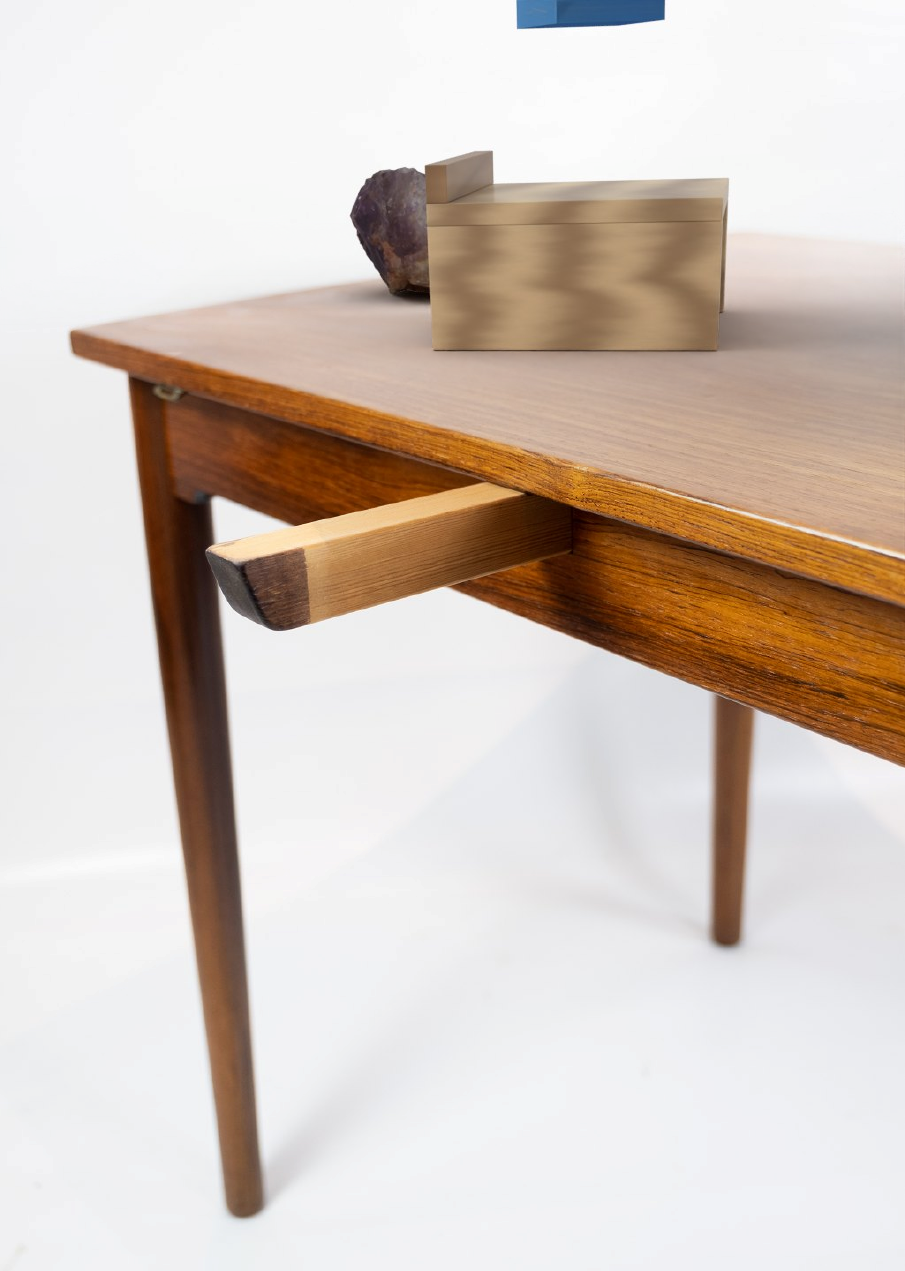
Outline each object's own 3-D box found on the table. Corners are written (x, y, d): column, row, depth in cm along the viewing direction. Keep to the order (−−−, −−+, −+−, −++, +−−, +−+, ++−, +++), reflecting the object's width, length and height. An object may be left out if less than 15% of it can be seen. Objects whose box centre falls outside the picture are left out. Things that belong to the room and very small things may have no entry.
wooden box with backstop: (723, 309, 85) (730, 143, 82) (717, 350, 73) (724, 156, 69) (479, 310, 89) (474, 151, 85) (432, 350, 76) (424, 165, 72)
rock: (491, 298, 102) (361, 297, 103) (493, 180, 100) (360, 181, 101) (480, 296, 91) (334, 295, 91) (481, 163, 89) (332, 164, 89)
